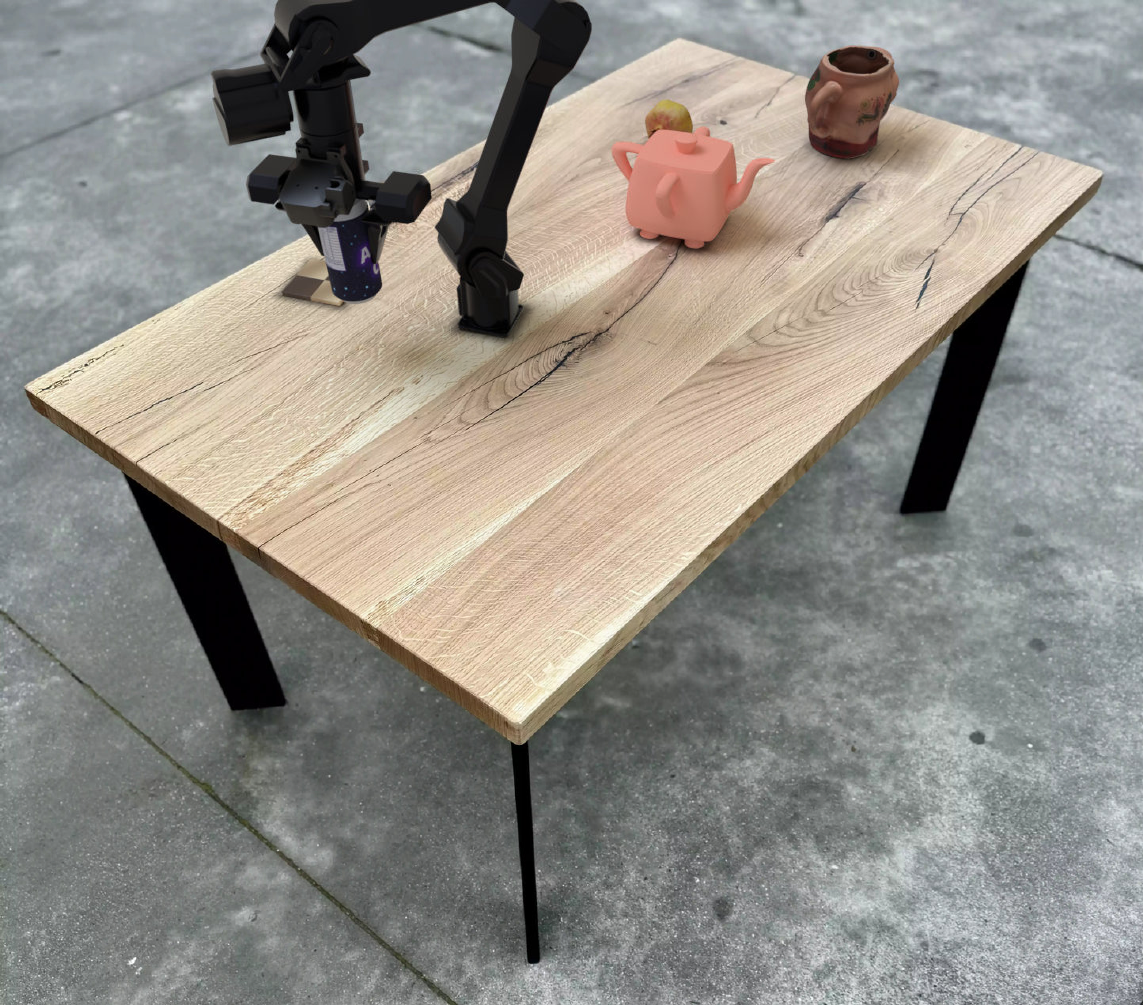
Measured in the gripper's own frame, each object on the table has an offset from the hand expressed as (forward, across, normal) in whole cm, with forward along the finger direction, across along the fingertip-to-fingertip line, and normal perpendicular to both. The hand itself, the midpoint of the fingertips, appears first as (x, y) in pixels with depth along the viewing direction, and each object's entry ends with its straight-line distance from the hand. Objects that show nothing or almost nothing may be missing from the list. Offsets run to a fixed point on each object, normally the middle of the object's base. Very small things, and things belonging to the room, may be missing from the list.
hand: (350, 258), depth 120 cm
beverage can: (+5, 0, 0) cm, 5 cm away
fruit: (+13, +24, +61) cm, 67 cm away
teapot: (+13, +31, +38) cm, 51 cm away
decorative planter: (+13, +49, +66) cm, 83 cm away
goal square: (+13, -11, +12) cm, 21 cm away
